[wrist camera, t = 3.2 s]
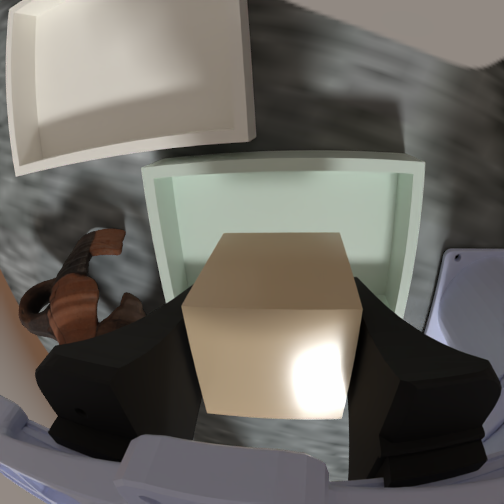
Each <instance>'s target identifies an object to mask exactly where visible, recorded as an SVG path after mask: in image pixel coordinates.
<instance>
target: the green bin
mask: <svg viewBox="0 0 504 504" xmlns="http://www.w3.org/2000/svg"><path fill="white" fill-rule="evenodd" d="M141 170H142V177H143V184H144V191H145V197H146V204H147V210H148V216H149V222H150V227H151V233H152V238H153V244H154V249H155V254H156V259H157V264H158V269H159V274H160V278H161V283H162V288H163V292H164V296H165V301H166V303H168V302H169V301H171V300H172V299H174V298H175V297H176V296H178V295H179V294H181V293H182V292H183V291H185V290H186V289H187V288H189V287H190V286H192V285H193V284H194V283H195V281H196V279H197V278H198V276H199V274H200V272H201V271H202V269H203V267H204V266H205V264H206V262H207V260H208V259H209V257H210V255H211V254H212V252H213V250H214V248H215V247H216V245H217V243H218V242H219V240H220V238H221V237H222V235H223V233H283V232H340V235H341V238H342V241H343V244H344V247H345V251H346V254H347V257H348V260H349V263H350V267H351V270H352V273H353V277H358V278H359V279H360V280H361V281H362V282H363V283H364V284H365V286H366V287H367V288H368V289H369V290H370V291H371V292H372V293H373V294H374V295H375V296H376V297H377V298H378V299H380V300H381V301H382V302H383V303H384V304H385V305H386V306H387V307H388V308H389V309H391V310H392V311H393V312H394V313H395V314H397V315H398V316H399V317H400V318H402V319H403V317H404V312H405V308H406V303H407V298H408V294H409V289H410V284H411V278H412V273H413V267H414V261H415V255H416V249H417V242H418V235H419V227H420V219H421V210H422V200H423V189H424V175H425V162H424V161H421V160H419V159H417V158H415V157H412V156H410V155H408V154H405V153H391V152H371V151H339V150H288V151H256V152H235V153H219V154H206V155H194V156H183V157H173V158H164V159H161V160H159V161H157V162H154V163H152V164H149V165H147V166H145V167H142V168H141Z"/></svg>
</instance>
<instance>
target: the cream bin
mask: <svg viewBox="0 0 504 504" xmlns="http://www.w3.org/2000/svg"><path fill="white" fill-rule="evenodd" d="M6 94H7V111H8V123H9V133H10V141H11V149H12V156H13V163H14V169H15V174H16V177H17V176H21V175H25V174H28V173H33V172H37V171H41V170H45V169H50V168H54V167H59V166H63V165H68V164H73V163H78V162H83V161H89V160H94V159H100V158H105V157H111V156H118V155H124V154H131V153H137V152H145V151H152V150H160V149H168V148H177V147H187V146H197V145H209V144H221V143H236V142H249V141H251V140H252V139H254V138H256V122H255V106H254V90H253V75H252V60H251V46H250V32H249V18H248V4H247V0H22V1H21V2H19V3H18V4H16V5H15V6H13V7H12V8H10V9H9V16H8V27H7V43H6Z"/></svg>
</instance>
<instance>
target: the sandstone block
mask: <svg viewBox="0 0 504 504" xmlns="http://www.w3.org/2000/svg"><path fill="white" fill-rule="evenodd" d="M181 307H182V312H183V316H184V321H185V326H186V330H187V335H188V339H189V343H190V348H191V352H192V356H193V360H194V364H195V368H196V372H197V376H198V380H199V384H200V388H201V392H202V396H203V399H204V403H205V407H206V410H207V413H211V414H220V415H230V416H242V417H255V418H274V419H341V418H342V414H343V410H344V406H345V402H346V397H347V393H348V388H349V383H350V379H351V374H352V369H353V364H354V358H355V353H356V348H357V342H358V336H359V330H360V324H361V317H362V310H363V308H362V305H361V301H360V298H359V294H358V290H357V287H356V284H355V280H354V277H353V273H352V270H351V267H350V263H349V260H348V257H347V254H346V251H345V247H344V244H343V241H342V238H341V235H340V232H283V233H223V235H222V237H221V238H220V240H219V242H218V243H217V245H216V247H215V248H214V250H213V252H212V254H211V255H210V257H209V259H208V260H207V262H206V264H205V266H204V267H203V269H202V271H201V272H200V274H199V276H198V278H197V279H196V281H195V283H194V285H193V286H192V288H191V290H190V292H189V293H188V295H187V297H186V299H185V300H184V302H183V304H182V306H181Z"/></svg>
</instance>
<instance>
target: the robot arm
mask: <svg viewBox="0 0 504 504" xmlns="http://www.w3.org/2000/svg"><path fill="white" fill-rule="evenodd" d="M458 254H459V256H458V258H457V259H455V256H456V255H458ZM354 280H355V284H356V287H357V290H358V294H359V298H360V301H361V305H362V308H363V310H362V317H361V324H360V330H359V336H358V342H357V348H356V353H355V358H354V364H353V369H352V374H351V379H350V383H349V388H348V393H347V395H348V410H349V475H348V481H331V482H329V472H328V470H327V467H326V464H325V463H324V462H322V461H321V460H319V459H316V458H314V457H312V456H310V455H308V454H306V453H303V452H295V451H288V450H282V449H267V448H252V447H240V446H230V445H222V444H214V443H206V442H199V441H193V435H194V430H195V426H196V421H197V416H198V412H199V408H200V403H201V399H202V392H201V388H200V384H199V380H198V376H197V372H196V368H195V364H194V360H193V356H192V352H191V348H190V343H189V339H188V335H187V330H186V326H185V321H184V316H183V312H182V307H181V306H182V304H183V302H184V300H185V299H186V297H187V295H188V293H189V292H190V290H191V288H192V286H193V285H194V284H193V285H192V286H190V287H189V288H187V289H186V290H185V291H183V292H182V293H181V294H179V295H178V296H176V297H175V298H174V299H172V300H171V301H169V302H168V303H166V304H165V305H163V306H161V307H160V308H158V309H157V310H155V311H154V312H152V313H150V314H148V315H147V316H145V317H143V318H141V319H139V320H137V321H135V322H133V323H131V324H128V325H126V326H124V327H121V328H119V329H116V330H114V331H112V332H109V333H106V334H103V335H100V336H97V337H93V338H90V339H86V340H82V341H78V342H73V343H68V344H62V345H56V346H55V347H54V348H53V349H52V350H51V352H50V353H49V354H48V355H47V356H46V358H45V359H44V360H43V361H42V363H41V364H40V365H39V366H38V368H37V369H36V372H35V377H36V381H37V384H38V386H39V388H40V390H41V392H42V393H43V395H44V396H45V398H46V399H47V401H48V402H49V404H50V405H51V407H52V408H53V410H54V411H55V412H56V414H57V415H58V417H57V418H56V420H55V421H54V423H53V425H52V426H51V428H50V429H49V428H47V427H45V426H42V425H40V424H38V423H36V422H34V421H32V420H29V419H28V417H27V415H26V414H25V412H24V411H23V410H22V409H21V407H19V406H18V405H17V404H16V403H14V402H13V401H11V400H9V399H7V398H5V397H3V396H1V395H0V472H1V473H2V474H3V475H4V476H5V477H7V478H8V479H10V480H11V481H13V482H14V483H15V484H17V485H18V486H20V487H22V488H23V489H25V490H26V491H28V492H29V493H31V494H32V495H34V496H36V497H37V498H39V499H40V500H42V501H44V502H45V503H47V504H504V249H472V248H451V249H448V250H446V251H445V252H444V254H443V259H442V264H441V268H440V273H439V278H438V282H437V287H436V291H435V295H434V299H433V303H432V307H431V310H430V314H429V318H428V321H427V325H426V328H425V332H424V333H422V332H421V331H419V330H417V329H416V328H414V327H413V326H412V325H410V324H409V323H407V322H406V321H404V320H403V319H402V318H400V317H399V316H398V315H397V314H395V313H394V312H393V311H392V310H391V309H389V308H388V307H387V306H386V305H385V304H384V303H383V302H382V301H381V300H380V299H378V298H377V297H376V296H375V295H374V294H373V293H372V292H371V291H370V290H369V289H368V288H367V287H366V286H365V284H364V283H363V282H362V281H361V280H360V279H359V278H358V277H354Z"/></svg>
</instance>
